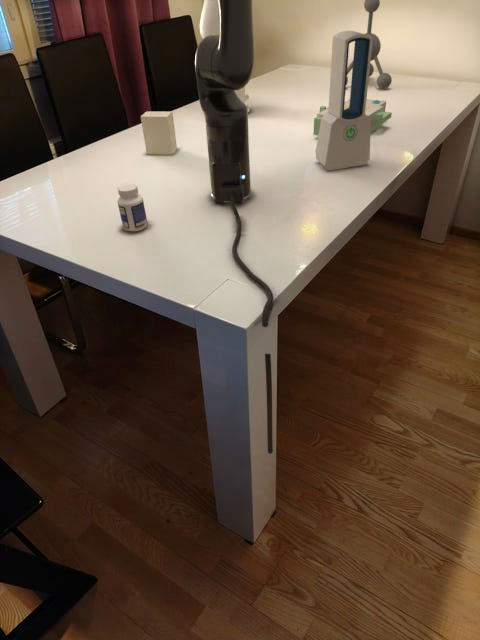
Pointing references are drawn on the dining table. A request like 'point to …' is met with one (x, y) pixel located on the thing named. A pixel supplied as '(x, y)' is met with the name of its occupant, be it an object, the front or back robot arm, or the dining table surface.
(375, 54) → the molecular model
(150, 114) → the brick
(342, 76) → the electronic device
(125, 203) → the pill bottle
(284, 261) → the dining table surface
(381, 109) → the decorative block
